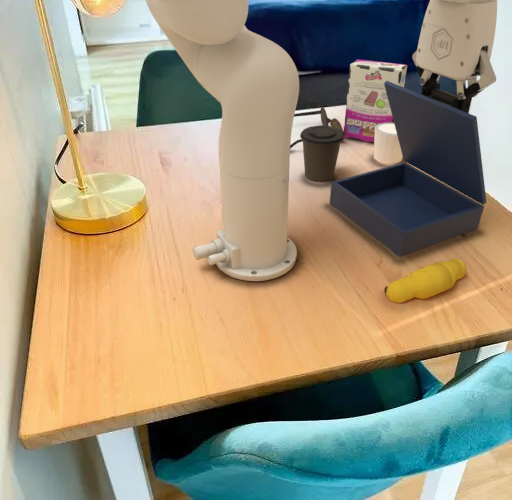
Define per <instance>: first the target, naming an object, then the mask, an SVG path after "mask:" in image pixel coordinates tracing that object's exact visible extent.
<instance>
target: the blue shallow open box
mask: <svg viewBox="0 0 512 500" xmlns="http://www.w3.org/2000/svg"><path fill="white" fill-rule="evenodd" d="M330 183H331V184H330V195H329V205H331V206H332V207H333V208H335V209H336V210H338V212H340V213H342V215H344V216H345V217H347V218H348V219H349V220H351V221H352V222H353V223H354V224H356V225H357V226H359V227H360V228H361V229H362V230H363V231H365V232H366V233H368V234H369V235H370V236H371V237H372V238H374V239H375V240H376V241H378V242H379V243H380V244H382V245H384V246H385V247H386V248H387V249H389V250H390V251H391V252H393V253H394V254H395V255H396V256H397V257H399V258H401V257H404V256H406V255H410V254H412V253H415V252H418V251H420V250H423V249H426V248H429V247H431V246H435V245H436V244H440V243H443V242H445V241H448V240H451V239H454V238H456V237H460V236H461V235H464V234H467V233H470V232H473V231H475V230H478V229H479V225H480V222H481V219H482V215H483V212H484V208H485V205H482V204H481V203H479V202H477V201H475V200H473V199H472V198H470V197H468V196H466V195H464V194H463V193H461V192H459V191H457V190H455V189H454V188H452V187H450V186H448V185H446V184H445V183H443V182H441V181H439V180H437V179H436V178H434V177H432V176H430V175H428V174H427V173H425V172H423V171H421V170H419V169H418V168H416V167H414V166H412V165H410V164H409V163H407V162H405V161H404V162H399V163H395V164H391V165H389V166H385V167H382V168H377V169H374V170H371V171H367V172H363V173H360V174H356V175H352V176H348V177H344V178H341V179H338V180H334V181H331V182H330Z"/></svg>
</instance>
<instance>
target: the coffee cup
mask: <svg viewBox="0 0 512 500" xmlns="http://www.w3.org/2000/svg"><path fill="white" fill-rule="evenodd" d="M299 137H300V139H303V142H302V151H303V163H304V164H303V166H304V177H305V178H306V180H308V181H311V182H315V183H327V182H330V181H331V180H333V178H334V176H335V171H336V166H337V163H338V162H337V161H338V158H339V152H340V147H341V144H342V141H343V140H344V139H345V138H344V135H343V133H342V132H341V131H340V130H339V129H337V128H334V127H331V126H329V125H328V126H323V125H313V126H309V127H306V128H303V130H302V131H301V132H300V135H299Z"/></svg>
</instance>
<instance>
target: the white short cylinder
mask: <svg viewBox="0 0 512 500" xmlns="http://www.w3.org/2000/svg"><path fill="white" fill-rule="evenodd" d="M373 159H374V160H376V161H377V162H380V163H382V164H389V165H396V164H400V163H401V162H402V160H403V155H402V151H401V148H400V144H399V140H398V136H397V132H396V128H395V124H394V123H381V124H378V125H376V127H375V138H374V143H373Z"/></svg>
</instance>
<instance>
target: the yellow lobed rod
mask: <svg viewBox="0 0 512 500" xmlns="http://www.w3.org/2000/svg"><path fill="white" fill-rule="evenodd" d="M466 273H467V266H466V263H465V262H464V261H462V260H461V259H458V258H451V259H449V260H446V261H437V262H434V263H431V264H429V265H426V266H424V267H420V268H418V269H416V270H414V271H412V272H411V273H410V274H408V275H407V276H405V277H402V278H399V279H396V280H394V281H392V282H390V283H389V284H388V285H386V286H384V293H385V295H386V297H387V300H388V301H390V302H392V303H396V304H400V303H401V304H402V303H404V302H407V301H410V300H412V299H415V298H416V299H419V300H425V299H428V298H431V297H434V296H436V295H438V294H440V293H443V292H445V291H448V290H450V289H451V288H453V287H454V285H455V284H456V281H459V280H460V279H462V278H463V277H465V275H466Z"/></svg>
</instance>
